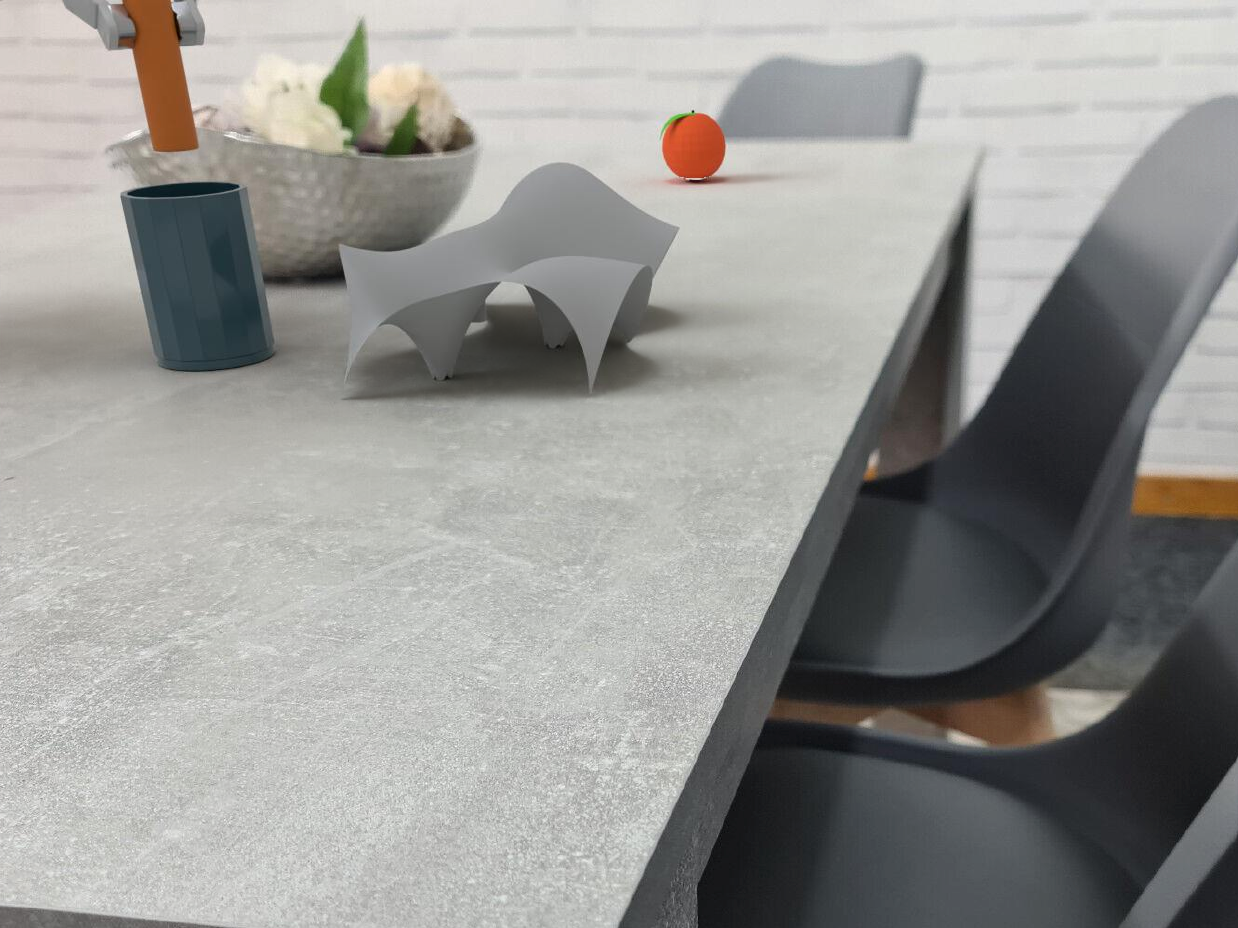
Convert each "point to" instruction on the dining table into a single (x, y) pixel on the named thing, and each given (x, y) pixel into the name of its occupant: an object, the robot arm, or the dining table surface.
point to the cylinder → (162, 76)
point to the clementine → (693, 145)
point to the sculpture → (517, 270)
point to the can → (199, 274)
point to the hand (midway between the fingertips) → (158, 39)
